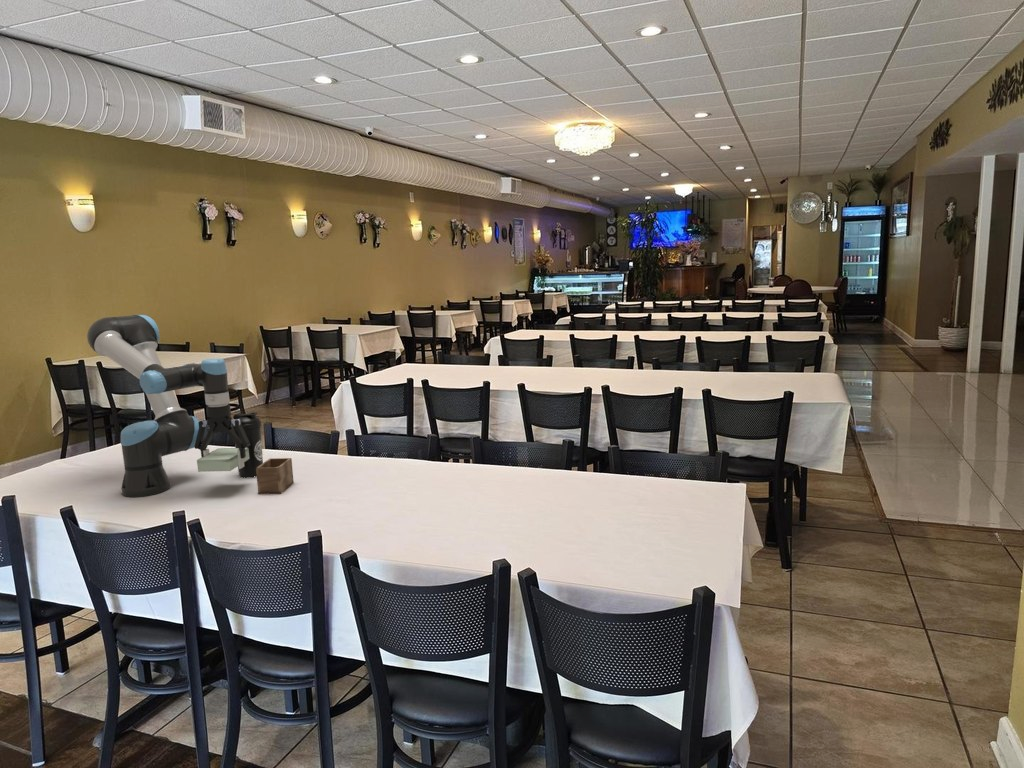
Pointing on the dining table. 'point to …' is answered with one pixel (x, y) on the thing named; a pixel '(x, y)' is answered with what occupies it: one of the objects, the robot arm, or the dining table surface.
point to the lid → (220, 460)
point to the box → (274, 476)
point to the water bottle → (253, 434)
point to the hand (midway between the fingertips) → (224, 467)
